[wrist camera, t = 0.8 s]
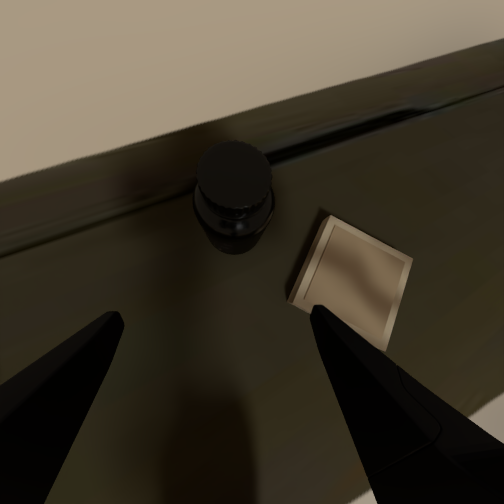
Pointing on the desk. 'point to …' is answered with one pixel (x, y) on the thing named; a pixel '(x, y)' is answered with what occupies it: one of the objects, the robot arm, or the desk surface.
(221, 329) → the desk surface
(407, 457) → the robot arm
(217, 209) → the supplement bottle
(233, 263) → the desk surface
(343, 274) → the base slab
